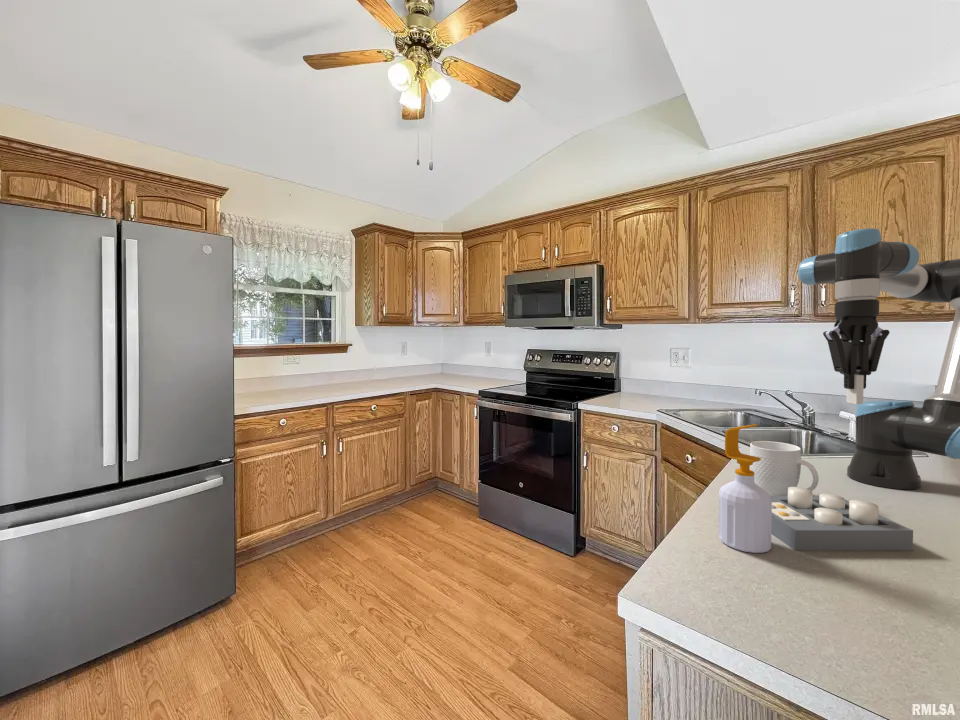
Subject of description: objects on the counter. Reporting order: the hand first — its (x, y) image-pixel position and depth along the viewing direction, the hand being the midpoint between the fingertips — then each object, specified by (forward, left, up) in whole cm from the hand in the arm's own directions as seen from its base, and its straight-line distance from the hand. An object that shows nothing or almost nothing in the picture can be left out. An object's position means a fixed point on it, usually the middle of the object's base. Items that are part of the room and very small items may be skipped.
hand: (854, 403), depth 94 cm
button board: (+13, +7, -26) cm, 30 cm away
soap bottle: (+32, +13, -27) cm, 44 cm away
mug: (+8, -13, -27) cm, 31 cm away
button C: (+14, +3, -24) cm, 28 cm away
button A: (+7, +3, -25) cm, 26 cm away
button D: (+14, +11, -25) cm, 31 cm away
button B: (+7, +11, -24) cm, 27 cm away
